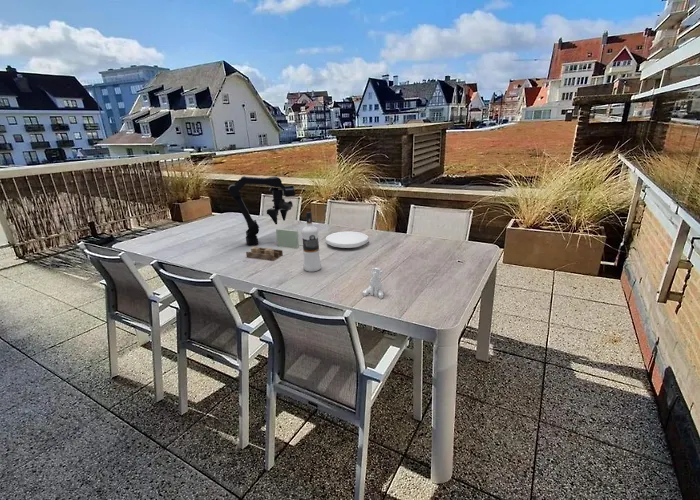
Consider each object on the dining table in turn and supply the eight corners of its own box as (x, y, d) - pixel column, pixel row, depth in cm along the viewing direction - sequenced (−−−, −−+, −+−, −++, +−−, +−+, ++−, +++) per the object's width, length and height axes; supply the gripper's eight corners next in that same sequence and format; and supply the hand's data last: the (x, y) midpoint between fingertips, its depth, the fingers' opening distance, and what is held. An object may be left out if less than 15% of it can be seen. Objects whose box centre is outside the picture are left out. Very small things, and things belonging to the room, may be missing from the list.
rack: (246, 258, 196) (246, 252, 195) (256, 253, 204) (255, 247, 202) (274, 262, 190) (273, 255, 188) (282, 256, 197) (282, 250, 196)
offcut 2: (265, 258, 193) (264, 250, 191) (268, 256, 195) (267, 248, 194) (271, 259, 191) (270, 250, 190) (274, 257, 194) (273, 249, 192)
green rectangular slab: (277, 246, 213) (276, 229, 209) (279, 245, 214) (277, 228, 211) (297, 248, 208) (296, 231, 204) (299, 248, 209) (297, 230, 206)
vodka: (320, 264, 185) (316, 209, 175) (322, 271, 177) (319, 213, 167) (302, 266, 183) (298, 210, 173) (304, 273, 175) (300, 215, 165)
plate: (331, 229, 231) (371, 230, 226) (332, 238, 233) (371, 240, 227) (320, 237, 204) (364, 239, 199) (320, 248, 206) (364, 250, 201)
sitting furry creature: (361, 296, 150) (360, 270, 146) (367, 287, 158) (367, 263, 154) (382, 299, 147) (382, 273, 143) (387, 290, 155) (388, 265, 150)
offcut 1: (251, 256, 196) (250, 248, 194) (255, 255, 198) (254, 246, 197) (257, 257, 194) (256, 249, 193) (260, 255, 197) (259, 247, 195)
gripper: (280, 201, 202) (283, 227, 207) (297, 195, 218) (298, 219, 224) (264, 200, 206) (267, 225, 211) (281, 194, 222) (284, 218, 228)
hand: (280, 222), depth 218 cm, fingers open, 9 cm apart
